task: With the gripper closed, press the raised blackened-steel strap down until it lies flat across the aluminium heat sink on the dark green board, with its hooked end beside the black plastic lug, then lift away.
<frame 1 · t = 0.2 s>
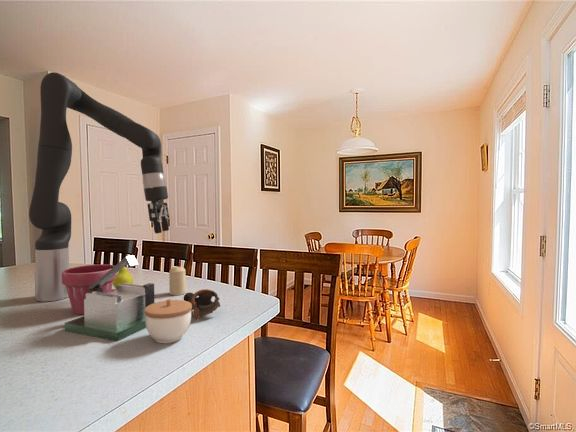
hand: (162, 231, 113), 23 cm above the counter, tool pointing down, fingers open, 8 cm apart
candle: (177, 294, 115), on the counter
pottery mug: (201, 314, 94), on the counter
fruit: (122, 290, 119), on the counter
heat sink board: (117, 324, 86), on the counter
lidded jar: (169, 338, 77), on the counter
strap: (113, 275, 86), point 13 cm above the counter, hinge at 35.0°
plant pot: (90, 310, 97), on the counter
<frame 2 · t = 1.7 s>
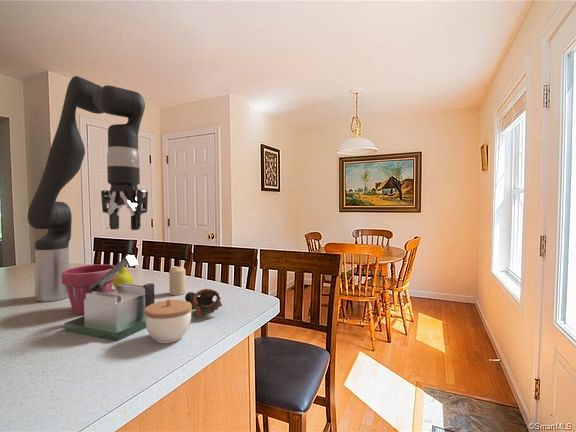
hand: (124, 229, 84), 26 cm above the counter, tool pointing down, fingers open, 6 cm apart
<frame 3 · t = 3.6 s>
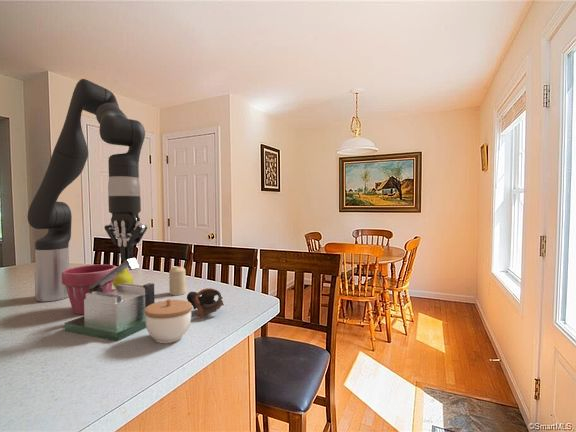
hand: (126, 260, 84), 18 cm above the counter, tool pointing down, fingers closed
strap: (113, 277, 85), point 13 cm above the counter, hinge at 31.9°, touching gripper
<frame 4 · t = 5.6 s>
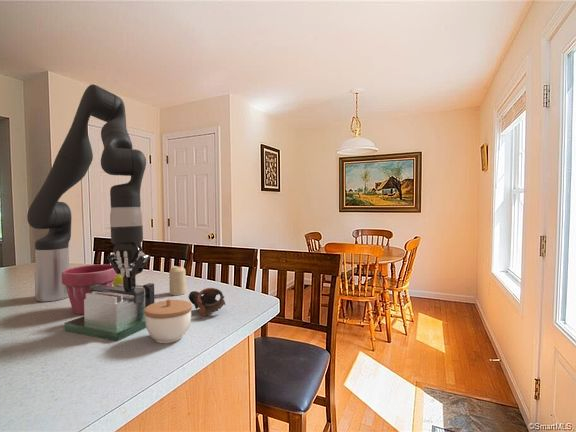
hand: (129, 290, 84), 10 cm above the counter, tool pointing down, fingers closed
strap: (116, 293, 85), point 8 cm above the counter, hinge at -0.4°, touching gripper
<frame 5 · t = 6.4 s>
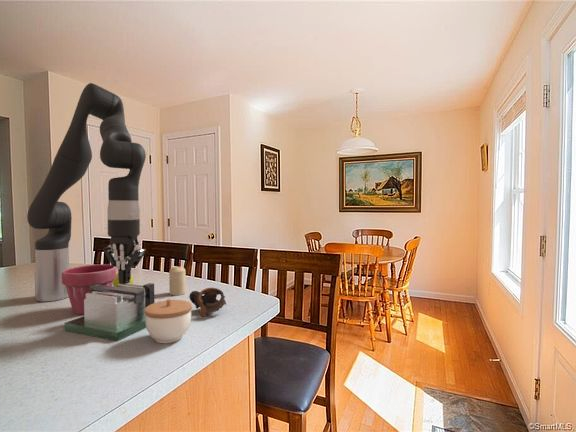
hand: (124, 283, 84), 11 cm above the counter, tool pointing down, fingers closed
strap: (116, 293, 85), point 8 cm above the counter, hinge at -0.4°
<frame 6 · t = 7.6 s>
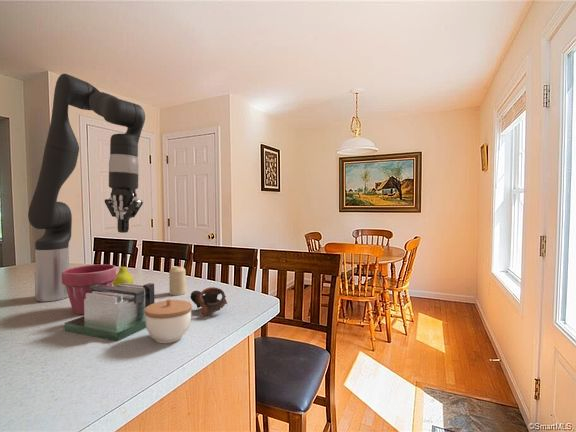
hand: (122, 232, 91), 24 cm above the counter, tool pointing down, fingers closed
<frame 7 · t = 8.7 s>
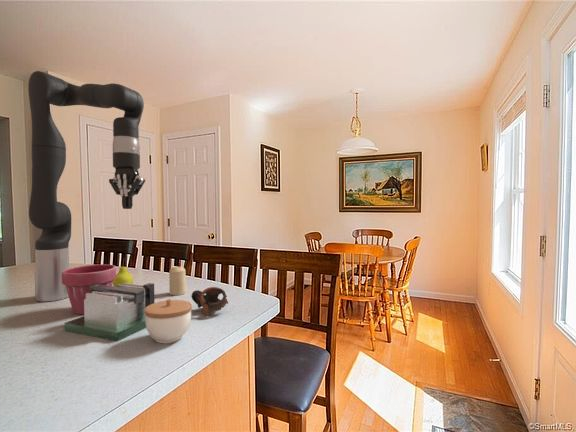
hand: (127, 208, 99), 31 cm above the counter, tool pointing down, fingers closed
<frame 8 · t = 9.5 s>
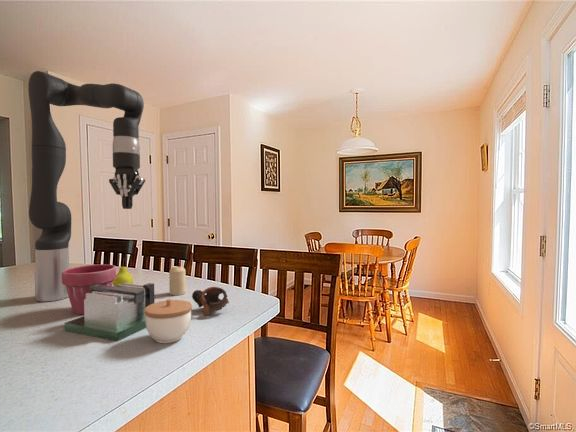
hand: (127, 208, 99), 31 cm above the counter, tool pointing down, fingers closed
at the end: strap at +0° (first picture: +35°); lidded jar moved 0.2 cm from its start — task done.
